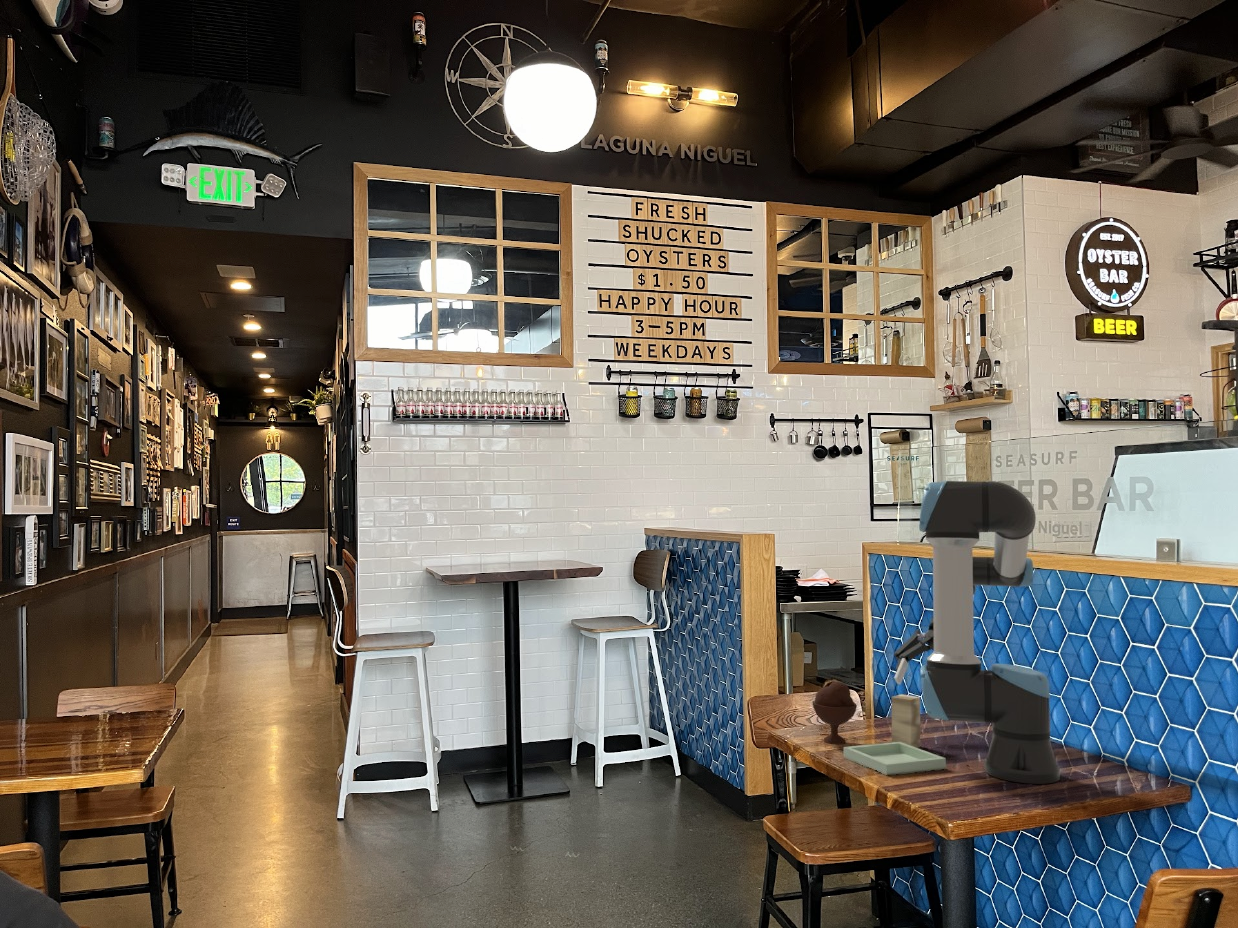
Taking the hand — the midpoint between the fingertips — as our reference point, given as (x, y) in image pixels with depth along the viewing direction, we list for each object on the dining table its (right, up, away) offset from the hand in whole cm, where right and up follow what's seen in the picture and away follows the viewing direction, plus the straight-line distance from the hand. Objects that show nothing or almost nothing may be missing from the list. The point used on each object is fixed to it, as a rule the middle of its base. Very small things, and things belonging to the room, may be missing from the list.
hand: (921, 684), depth 233 cm
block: (-6, -13, -8) cm, 17 cm away
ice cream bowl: (-23, -14, -3) cm, 27 cm away
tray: (-14, -12, -24) cm, 30 cm away
